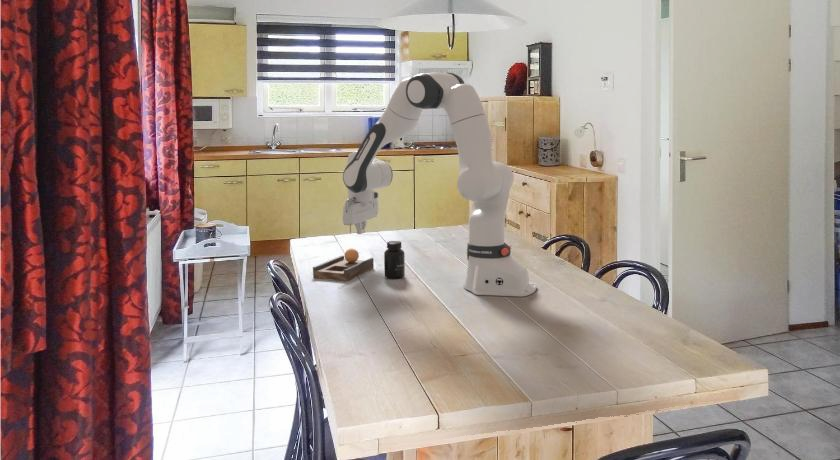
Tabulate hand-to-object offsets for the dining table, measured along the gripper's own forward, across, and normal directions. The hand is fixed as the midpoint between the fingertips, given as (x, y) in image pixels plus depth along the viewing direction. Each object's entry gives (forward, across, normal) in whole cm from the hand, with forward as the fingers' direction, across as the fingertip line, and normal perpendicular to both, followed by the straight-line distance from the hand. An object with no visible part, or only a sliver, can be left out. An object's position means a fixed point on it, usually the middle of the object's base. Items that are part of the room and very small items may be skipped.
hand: (360, 233), depth 243 cm
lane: (+11, -14, 0) cm, 18 cm away
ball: (+6, -8, 0) cm, 10 cm away
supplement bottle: (+11, -12, -20) cm, 26 cm away
